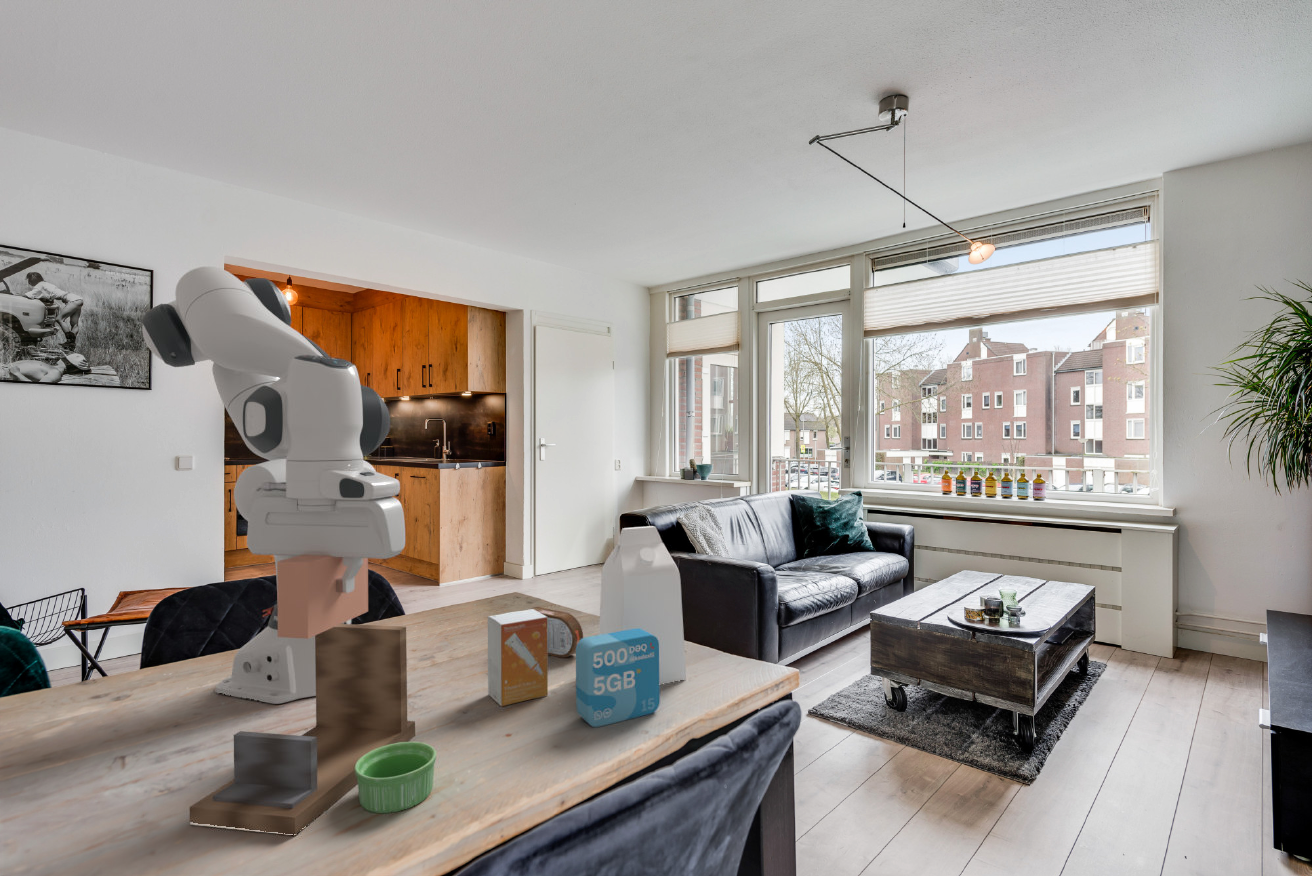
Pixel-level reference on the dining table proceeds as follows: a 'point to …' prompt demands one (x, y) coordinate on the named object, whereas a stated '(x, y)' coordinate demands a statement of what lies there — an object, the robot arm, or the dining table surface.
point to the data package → (617, 676)
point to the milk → (645, 596)
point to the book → (316, 595)
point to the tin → (561, 632)
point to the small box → (517, 656)
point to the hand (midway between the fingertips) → (325, 591)
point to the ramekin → (395, 776)
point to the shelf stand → (319, 736)
